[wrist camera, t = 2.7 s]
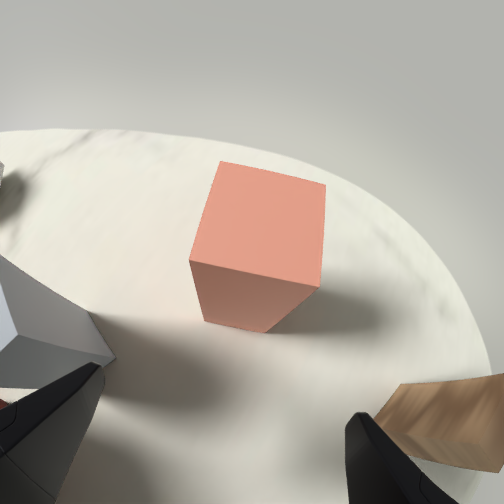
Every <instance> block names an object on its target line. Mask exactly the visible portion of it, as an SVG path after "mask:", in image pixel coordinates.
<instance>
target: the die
mask: <svg viewBox="0 0 504 504" xmlns="http://www.w3.org/2000/svg"><path fill="white" fill-rule="evenodd" d="M3 170H4V165H3V164H2V163H1V162H0V186H1V180H2V175H3Z"/></svg>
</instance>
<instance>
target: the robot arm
mask: <svg viewBox="0 0 504 504" xmlns="http://www.w3.org/2000/svg"><path fill="white" fill-rule="evenodd" d="M104 385H105V377H104V372H103V368H102V365H101V364H98V363H96V362H93V361H90V362H88V363H86V364H85V365H83V366H81V367H79V368H77V369H75V370H74V371H72V372H70V373H68V374H66V375H64V376H63V377H61V378H59V379H57V380H55V381H53V382H51V383H50V384H48V385H46V386H44V387H42V388H40V389H38V390H37V391H35V392H33V393H31V394H29V395H27V396H25V397H23V398H21V399H20V400H18V402H17V401H16V402H14V403H12V404H10V405H8V406H6V407H4V408H2V409H0V504H55V501H56V500H55V499H56V498H57V496H58V493H59V491H60V488H61V486H62V484H63V481H64V479H65V476H66V474H67V472H68V470H69V467H70V465H71V463H72V461H73V458H74V456H75V454H76V452H77V450H78V447H79V445H80V443H81V441H82V439H83V437H84V435H85V433H86V431H87V429H88V426H89V424H90V422H91V420H92V418H93V415H94V413H95V410H96V407H97V404H98V401H99V398H100V396H101V393H102V390H103V388H104ZM345 466H346V476H347V486H348V497H349V504H459V503H458V502H456V501H455V500H454V499H452V498H451V497H450V496H449V495H447V494H446V493H445V492H444V491H442V490H441V489H440V488H439V487H438V486H436V485H435V484H434V483H433V482H432V481H431V480H430V479H429V478H428V477H427V476H426V475H425V474H424V473H423V472H421V470H420V469H419V468H418V467H417V466H416V465H415V464H414V462H413V461H412V460H411V459H410V458H409V457H408V456H407V455H406V454H405V453H404V452H403V451H402V450H401V449H400V448H399V447H398V446H397V444H396V443H395V442H394V441H393V440H392V439H391V438H390V437H389V436H388V435H387V434H386V433H385V432H384V431H383V429H382V428H381V427H380V426H379V425H378V424H377V423H376V422H375V421H374V420H373V419H372V418H371V416H370V415H369V414H368V413H366V412H357V413H355V414H354V415H353V417H352V418H351V419H350V421H349V422H348V423H347V425H346V427H345Z"/></svg>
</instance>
